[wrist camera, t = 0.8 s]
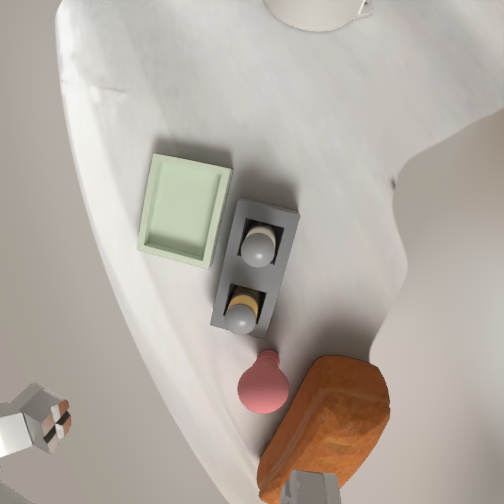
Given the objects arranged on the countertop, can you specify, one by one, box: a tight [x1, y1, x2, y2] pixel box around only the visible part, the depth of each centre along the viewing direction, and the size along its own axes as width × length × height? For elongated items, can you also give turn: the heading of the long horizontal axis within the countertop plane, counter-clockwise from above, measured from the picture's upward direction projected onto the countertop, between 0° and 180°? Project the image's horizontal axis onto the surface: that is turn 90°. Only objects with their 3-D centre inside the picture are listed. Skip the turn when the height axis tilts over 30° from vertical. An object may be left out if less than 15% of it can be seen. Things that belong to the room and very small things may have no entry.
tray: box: [137, 153, 233, 270], centre depth 43 cm, size 14×11×2 cm
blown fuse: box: [224, 285, 260, 334], centre depth 42 cm, size 4×4×9 cm
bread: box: [257, 355, 390, 504], centre depth 45 cm, size 14×33×16 cm, turn 163°
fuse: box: [241, 222, 276, 268], centre depth 40 cm, size 4×4×9 cm
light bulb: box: [238, 350, 289, 414], centre depth 43 cm, size 7×7×12 cm
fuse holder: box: [210, 197, 300, 339], centre depth 43 cm, size 18×8×4 cm, turn 166°
